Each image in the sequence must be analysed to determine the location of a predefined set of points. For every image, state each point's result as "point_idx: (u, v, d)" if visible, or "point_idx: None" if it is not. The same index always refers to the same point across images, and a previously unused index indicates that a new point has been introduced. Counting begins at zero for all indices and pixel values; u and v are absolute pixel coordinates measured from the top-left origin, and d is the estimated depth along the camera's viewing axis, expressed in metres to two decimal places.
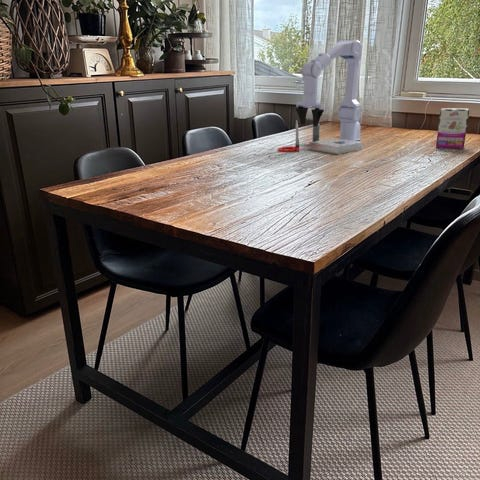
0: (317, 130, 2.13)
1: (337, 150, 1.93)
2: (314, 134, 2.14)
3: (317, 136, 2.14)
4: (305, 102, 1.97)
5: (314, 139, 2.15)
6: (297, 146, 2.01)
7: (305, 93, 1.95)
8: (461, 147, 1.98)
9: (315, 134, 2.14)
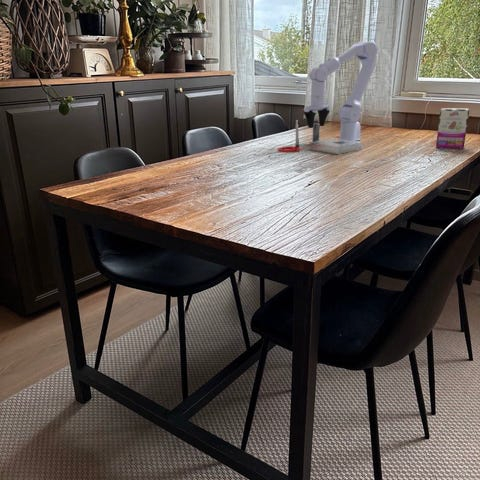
0: (317, 130, 2.13)
1: (337, 150, 1.93)
2: (314, 134, 2.14)
3: (317, 136, 2.14)
4: None
5: (314, 139, 2.15)
6: (297, 146, 2.01)
7: None
8: (461, 147, 1.98)
9: (315, 134, 2.14)
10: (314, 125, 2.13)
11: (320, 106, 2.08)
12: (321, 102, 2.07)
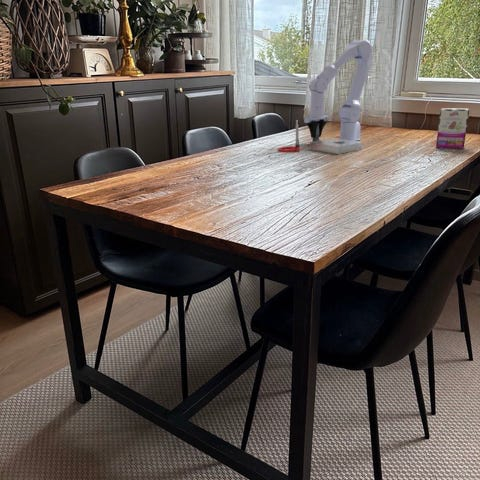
0: (317, 130, 2.13)
1: (337, 150, 1.93)
2: None
3: (317, 136, 2.14)
4: None
5: (314, 139, 2.15)
6: (297, 146, 2.01)
7: None
8: (461, 147, 1.98)
9: None
10: None
11: (320, 117, 2.10)
12: (321, 113, 2.09)
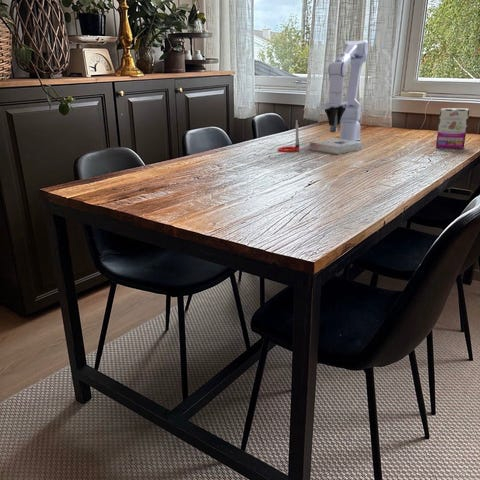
0: (335, 117, 2.00)
1: (337, 150, 1.93)
2: None
3: (335, 124, 2.01)
4: None
5: (332, 127, 2.01)
6: (297, 146, 2.01)
7: None
8: (461, 147, 1.98)
9: None
10: None
11: (339, 103, 1.96)
12: (340, 99, 1.96)
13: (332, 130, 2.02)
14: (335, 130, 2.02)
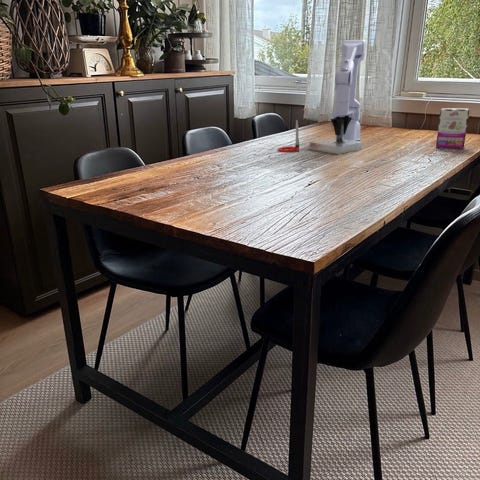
0: (341, 127, 1.97)
1: (337, 150, 1.93)
2: None
3: (341, 133, 1.98)
4: None
5: (338, 137, 1.99)
6: (297, 146, 2.01)
7: None
8: (461, 147, 1.98)
9: None
10: None
11: (345, 113, 1.94)
12: (346, 108, 1.93)
13: (338, 140, 1.99)
14: (341, 140, 1.99)
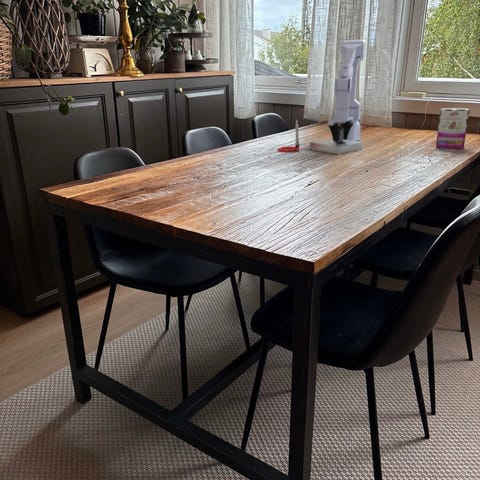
0: (341, 135, 1.99)
1: (337, 150, 1.93)
2: (338, 140, 2.00)
3: (341, 142, 2.00)
4: None
5: None
6: (297, 146, 2.01)
7: None
8: (461, 147, 1.98)
9: (339, 140, 1.99)
10: None
11: (345, 119, 1.95)
12: (346, 115, 1.94)
13: None
14: None
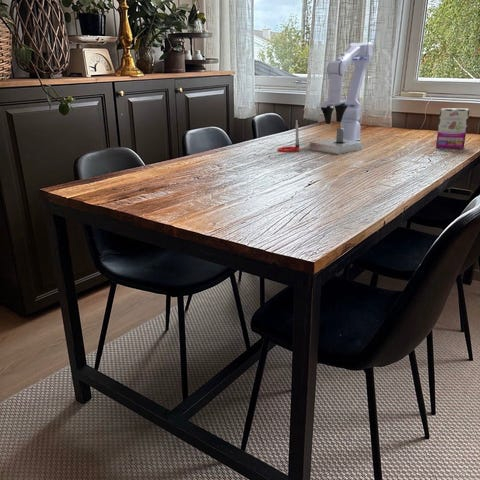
0: (341, 135, 1.99)
1: (337, 150, 1.93)
2: (338, 140, 2.00)
3: (341, 142, 2.00)
4: None
5: None
6: (297, 146, 2.01)
7: None
8: (461, 147, 1.98)
9: (339, 140, 1.99)
10: (338, 130, 1.98)
11: (338, 101, 2.00)
12: (339, 97, 2.00)
13: None
14: None
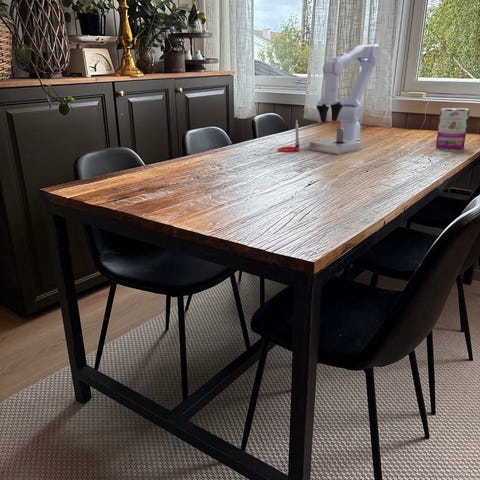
0: (341, 135, 1.99)
1: (337, 150, 1.93)
2: (338, 140, 2.00)
3: (341, 142, 2.00)
4: None
5: None
6: (297, 146, 2.01)
7: None
8: (461, 147, 1.98)
9: (339, 140, 1.99)
10: (338, 130, 1.98)
11: (333, 100, 2.03)
12: (335, 96, 2.03)
13: None
14: None
